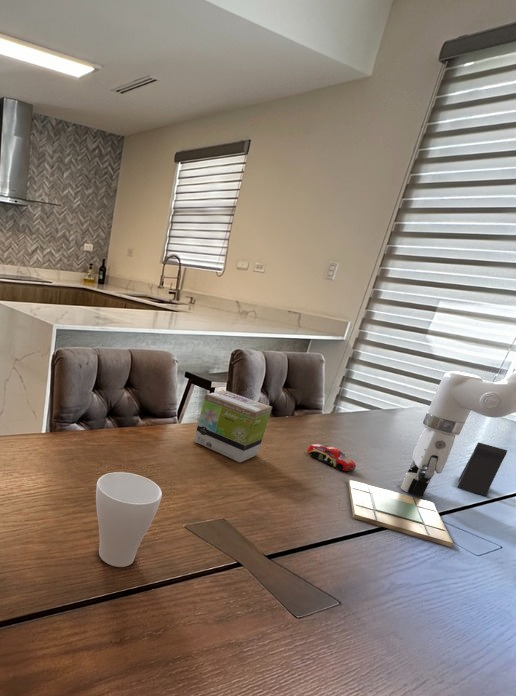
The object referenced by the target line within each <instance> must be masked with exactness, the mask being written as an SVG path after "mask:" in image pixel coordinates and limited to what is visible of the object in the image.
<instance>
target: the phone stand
mask: <svg viewBox="0 0 516 696" xmlns="http://www.w3.org/2000/svg"><path fill="white" fill-rule="evenodd" d="M507 453H508V449H505V448H500V447H497V446H493V445H491V444H490V445H489V444H486V443H483V442H477V443H476V445H475V448H474V449H473V452H472V454H470V455H471V456H469V459H468V461H467V463H466V465H465V466H464V468H463V470H462V472H461V474H460V475H459V478H458V482H457V488H458V489H461V490H463V491H464V490H465V491H468V492H469V493H470V492H471V493H474V494H476V495H480V496H483V497H486V496H487V494H488V492H489V490H490V488H491V486H492V483H493V482H494V480H495V477H496V476H497V473H498V471H499V468H500V467H501V465H502V463H503V461H504V459H505V458H506V456H507Z"/></svg>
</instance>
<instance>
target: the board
mask: <svg viewBox="0 0 516 696" xmlns="http://www.w3.org/2000/svg"><path fill="white" fill-rule="evenodd" d="M347 484H348V490H349V497H350V504H351V511H352V518H353V519H356V520H359V521H363V522H366V523H369V524H372V525H376V526H379V527H381V528H385V529H389V530H392V531H395V532H400V533H403V534H406V535H409V536H412V537H416V538H418V539H419V538H420V539H423V540H425V541H429V542H432V543H436V544H439V545H442V546H446V547H450V548H452V547H453V545H454V542H453V539H452V538H451V536H450V534H449V532H448V530H447V527H446V526H445V524H444V522H443V520H442V517H441V516H440V514H439V512H438V509H437V508H436V506H435V503H434V502H432V501H429V500H425V499H421V498H417V497H414V496H411V495H407V494H403V493H399V492H395V491H393V490H389V489H386V488H385V489H384V488H381V487H378V486H373V485H370V484H366V483H363V482H359V481H356V480H352V479H349V481H348V483H347Z"/></svg>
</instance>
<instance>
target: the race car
mask: <svg viewBox="0 0 516 696" xmlns="http://www.w3.org/2000/svg"><path fill="white" fill-rule="evenodd" d="M306 453H308V454H309V456H310V455H311V458H313V459H318V460H320V461H322V462H324V463H325V464H328V465H330V466H331V467H332V466H333V468H334V467H335V468H336V470H337V471H345V472H353V471H355V470H356V469H357V468H356V463H355V461H353V460H352V459H350V458H349V457H348V456H346V454H345V453H343V452H342V451H341V450H340V449H338V448H337V447H334V446H332V445H328V444H320V443H313V444H310V445H309V447H308V448H307V452H306Z"/></svg>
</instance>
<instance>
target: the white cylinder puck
mask: <svg viewBox="0 0 516 696" xmlns="http://www.w3.org/2000/svg"><path fill="white" fill-rule="evenodd" d="M416 475H417V473H412V472H408V471H407V472H406V474H405V476H404V478H403V480H402V483H401V485H400V489H401V490H402V491H404V492H405V493H408V489H409V487H410V485H411V482H412V480H413V478H416Z"/></svg>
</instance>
